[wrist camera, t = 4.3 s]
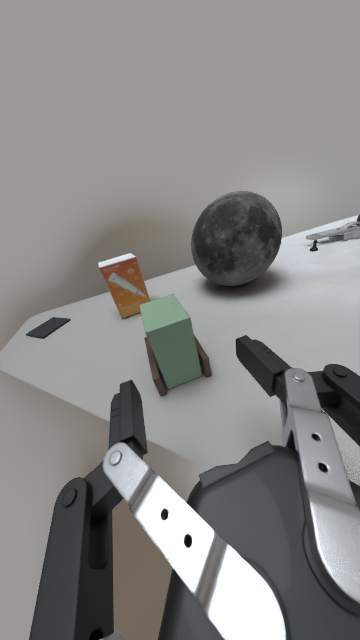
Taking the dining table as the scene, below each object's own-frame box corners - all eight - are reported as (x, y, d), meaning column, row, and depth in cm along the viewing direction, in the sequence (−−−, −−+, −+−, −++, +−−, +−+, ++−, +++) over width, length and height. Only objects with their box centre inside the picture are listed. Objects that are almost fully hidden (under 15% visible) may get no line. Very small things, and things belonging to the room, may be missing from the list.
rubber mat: (43, 338, 42) (42, 337, 42) (26, 335, 45) (25, 334, 45) (70, 319, 48) (69, 318, 47) (53, 318, 51) (53, 317, 51)
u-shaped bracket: (211, 375, 23) (209, 358, 21) (160, 396, 22) (153, 379, 20) (189, 338, 31) (186, 323, 29) (150, 352, 30) (144, 337, 28)
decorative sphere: (291, 293, 36) (312, 172, 25) (197, 305, 40) (181, 204, 29) (261, 264, 53) (266, 183, 42) (197, 275, 56) (186, 203, 45)
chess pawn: (309, 249, 55) (311, 239, 53) (317, 248, 54) (320, 238, 52) (309, 251, 54) (311, 241, 52) (317, 250, 53) (320, 240, 51)
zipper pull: (299, 244, 61) (301, 231, 59) (349, 232, 60) (354, 219, 58) (316, 248, 54) (319, 234, 52) (373, 235, 54) (379, 220, 51)
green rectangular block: (202, 376, 24) (190, 317, 18) (168, 389, 23) (145, 332, 17) (186, 345, 29) (173, 293, 24) (158, 355, 29) (139, 304, 23)
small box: (122, 319, 42) (97, 267, 34) (119, 309, 47) (97, 262, 40) (153, 307, 44) (136, 255, 36) (147, 299, 49) (130, 252, 41)
